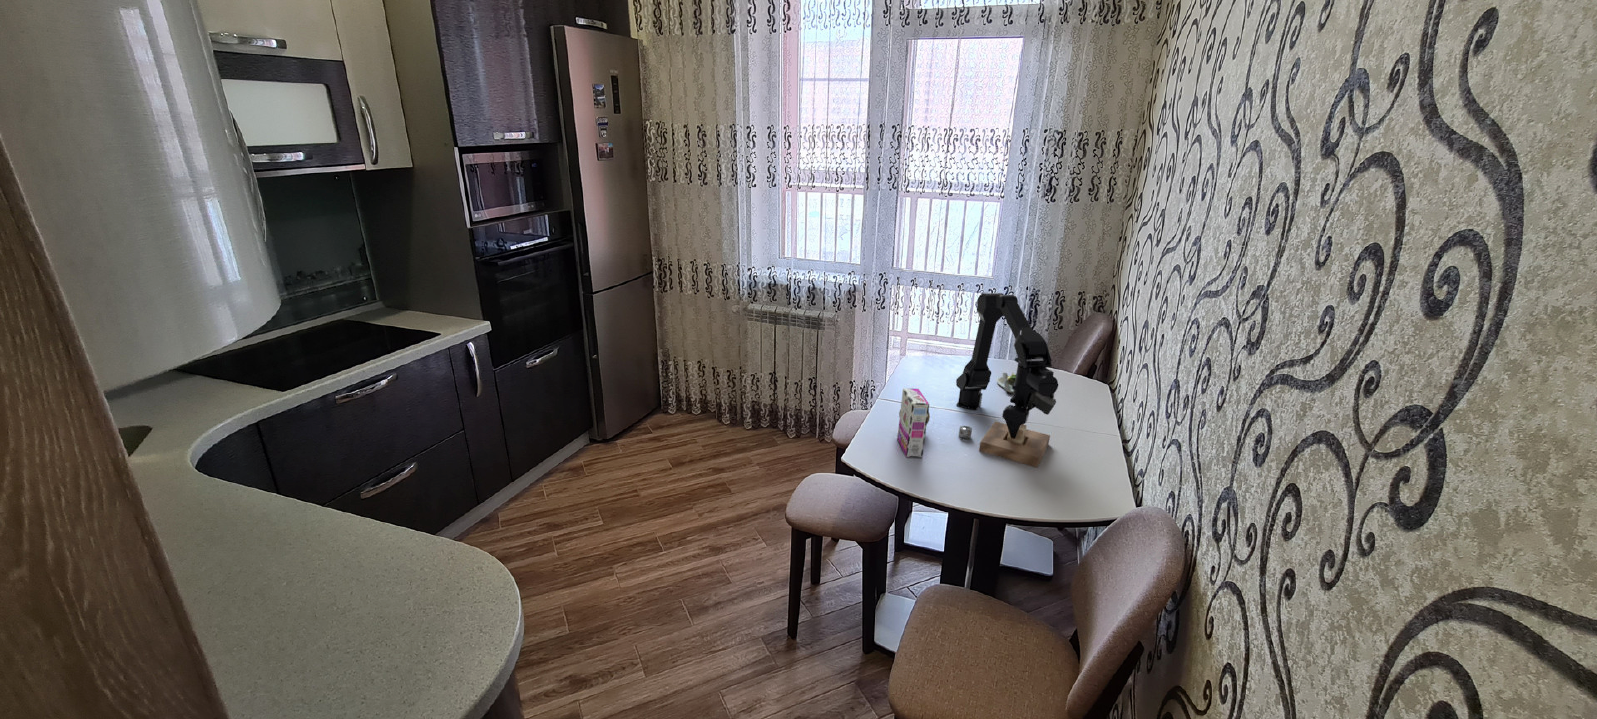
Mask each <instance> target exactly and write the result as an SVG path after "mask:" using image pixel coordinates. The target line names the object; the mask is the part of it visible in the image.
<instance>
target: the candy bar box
mask: <svg viewBox="0 0 1597 719" xmlns="http://www.w3.org/2000/svg"><path fill="white" fill-rule="evenodd" d="M901 396H902V397H901V402H900V409H901V411H900V410H899V412H900V417H899V420H898V422H899V423H898V429H897V430H898V431H897V441H898V444H899V445H900V447H901V449H902V451H903V454H904V456H905V457H906V458H917V459H918V458H923V456H924V447H925V440H926V433H927V426H928V423H927V419H928V411H930V403H929V401H928V400H927V399H926V397H925V396H924V394H923V393H922V392H921V390H920V389H919V388H902V395H901Z"/></svg>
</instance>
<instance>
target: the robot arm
mask: <svg viewBox="0 0 1597 719" xmlns="http://www.w3.org/2000/svg"><path fill="white" fill-rule="evenodd" d="M1018 301H1019V300H1018V297H1017V296H1016V295H1014V294H1004V293H1003V292H989V293H988V292H986V293H985V292H984V293H981V294H980V295H978V298H977V300H976V312H977V315H978V316H979V324H978V327H977V332H976V338H975V340H974V341H975V342H974V345H973V351H972V355H971V360H969V361H968V362H967V363H966V364H965V365H964V368H963V371H962V373H961V374H960V376H958V377H957V378H956V380H955V381H956V382H955V385H956V387H957V388H959V395H958V401H957V403H956V406H958V407H961V408H964V409H969V410H973V411H976V410H977V409H978V408H979V407H980V406H981V405H982V402H983V401H982V399H983V393H982V390H983V391H985V390H986V391H987V387H988V386H989V383H990V382H991V376H992V371H991V369H990V368H989V366H988V361H989V355H990V352H991V348H992V343H993V338H994V334H995V331H996V326H997V325H996V324H997V323H998V322H999V320H1000V319H1001V318H1003V317H1004V319H1005V320H1006V323H1007V324H1008V327H1009V329H1010V331H1011V333H1012V334H1013V336H1014V339H1015V340H1014V344H1013V347H1014V350H1015V352H1016V356H1017V357H1016V358H1014V362H1016V363H1017V368H1016V372H1015V375H1016V378H1015V383H1014V385H1013V388H1012V389H1014V390H1013V394H1012V397H1011V398H1010V400H1009V403H1012V404H1008V405H1007V406H1005V408H1004V410H1003V411H1002V416H1001V417H1002V419H1003V420H1004V421H1005V424H1007V427H1008V430H1009V433H1010V436H1011V438H1013V439H1015V438H1016V435H1017V433H1018V430H1019V428H1020V425H1022V424H1023V425H1026V423H1027V421H1028V419H1029V415H1030V411H1031V410H1033V409H1035V408H1036V410H1038V411H1040V412H1042V413H1043V414H1044V415H1047V416H1048V415H1049V414H1050V413H1051V411H1052V410H1053V408H1054V407H1055V405H1056V403H1057V399H1056V398H1055V393H1056V392H1057V390H1058V389H1059V388H1058V387H1059V382H1058V379H1057V377H1055V376H1054V371H1053V370H1051V369H1048V368H1052V367H1053V365H1052V361H1053V360H1052V356H1051V354H1050V351H1049V345H1048V344H1047V342H1046V340H1045V339H1044V337H1043V336H1042V335H1041V334H1040V333H1039V332H1037V331H1035V330H1034V329H1033V328H1032V326H1031V325H1030V322H1029V321H1028V319H1027V317H1026V316H1025V313H1024V311H1023V310H1022V308H1021V306H1020V305H1019V303H1018ZM1013 404H1014V405H1013Z"/></svg>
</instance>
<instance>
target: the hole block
mask: <svg viewBox="0 0 1597 719" xmlns="http://www.w3.org/2000/svg"><path fill="white" fill-rule="evenodd" d="M1008 431H1009V430H1008V427H1007V424H1006V423H1003V422H1000V421H997V420H996V421H994V422H993V423H992V425H991V426H990V428H989V429H988V430H987V432H986V433H985V434H984V436H983V438H982V439H981V440H980V442H979V449H978V451H979V452H981V453H984V454H988V455H992V456H996V457H998V458H999V457H1000V458H1003V459H1005V460H1009V461H1014V462H1016V463H1020V464H1024V465H1027V466H1030V467H1031V466H1032V467H1035V468H1038V467H1039V464H1040V462H1041V461H1042V458H1044V454H1045V452H1046V450H1047V448H1048V446H1049V445H1050V444H1049V443H1050V438H1051V435H1050V434H1046V433H1042V432H1038V431H1035V430H1031V429H1027V428H1026V432H1025V438H1024V443H1023V445H1021V444H1017V443H1014V442H1010V441H1007V437H1008Z"/></svg>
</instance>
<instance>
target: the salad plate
mask: <svg viewBox="0 0 1597 719" xmlns="http://www.w3.org/2000/svg"><path fill="white" fill-rule="evenodd" d="M1015 378H1016V374H1015V373H1014V372H1012V373H1011V375H1010V376H1009V375H1008V373H1007V372H1002V375H1001V377H998V378H997V379H996V383H997V384H998V385H999V387H1001V388H1002V389H1003V390H1005V391H1006V392H1008V393H1010V394H1011V395H1013V390H1014V389H1012V388H1013V385H1014V383H1015Z"/></svg>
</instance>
